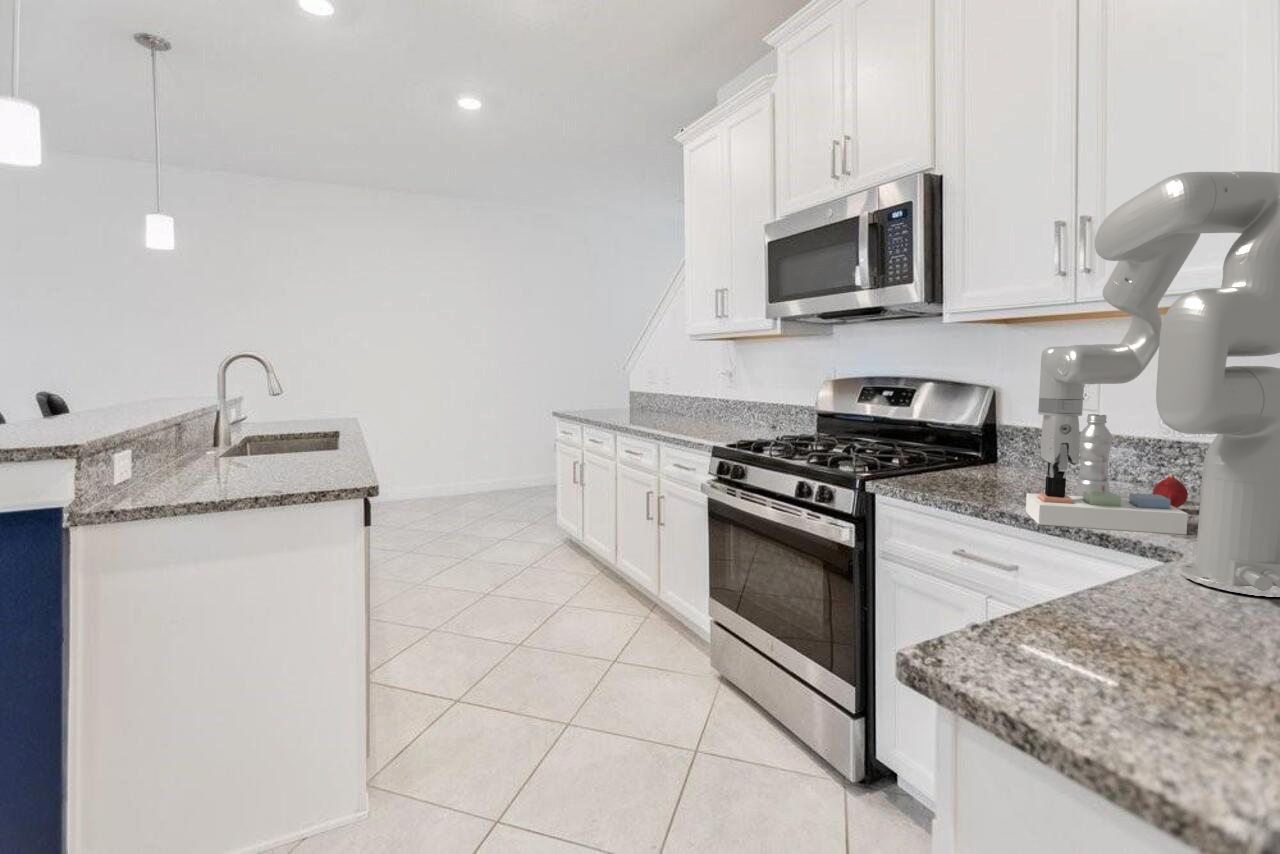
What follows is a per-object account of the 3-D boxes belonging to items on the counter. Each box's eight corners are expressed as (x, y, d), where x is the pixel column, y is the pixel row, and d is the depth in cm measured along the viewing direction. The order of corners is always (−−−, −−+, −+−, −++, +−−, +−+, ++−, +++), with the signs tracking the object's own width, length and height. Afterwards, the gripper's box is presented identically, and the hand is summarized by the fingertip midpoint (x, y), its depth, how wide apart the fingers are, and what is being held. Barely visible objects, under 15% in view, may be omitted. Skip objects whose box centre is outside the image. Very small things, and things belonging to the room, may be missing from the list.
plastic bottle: (1081, 502, 148) (1086, 415, 146) (1071, 496, 155) (1075, 413, 153) (1113, 503, 146) (1119, 416, 144) (1102, 497, 153) (1107, 413, 151)
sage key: (1119, 513, 126) (1121, 497, 126) (1090, 511, 128) (1091, 495, 128) (1111, 507, 131) (1112, 492, 131) (1082, 506, 133) (1083, 490, 132)
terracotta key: (1072, 515, 129) (1073, 499, 129) (1043, 513, 131) (1044, 498, 131) (1065, 509, 134) (1066, 494, 134) (1037, 508, 136) (1038, 493, 135)
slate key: (1169, 516, 124) (1170, 499, 123) (1138, 514, 125) (1139, 498, 125) (1158, 510, 128) (1160, 494, 128) (1128, 508, 130) (1129, 493, 130)
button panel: (1186, 534, 120) (1187, 513, 120) (1038, 524, 128) (1039, 504, 128) (1159, 519, 131) (1161, 500, 131) (1025, 511, 140) (1026, 493, 139)
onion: (1192, 514, 136) (1195, 477, 135) (1161, 513, 137) (1164, 476, 136) (1175, 508, 141) (1178, 472, 140) (1146, 507, 142) (1148, 471, 142)
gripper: (1093, 410, 122) (1087, 505, 124) (1071, 405, 136) (1065, 490, 138) (1047, 410, 125) (1042, 502, 127) (1030, 404, 139) (1026, 488, 141)
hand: (1054, 496), depth 132 cm, fingers closed
